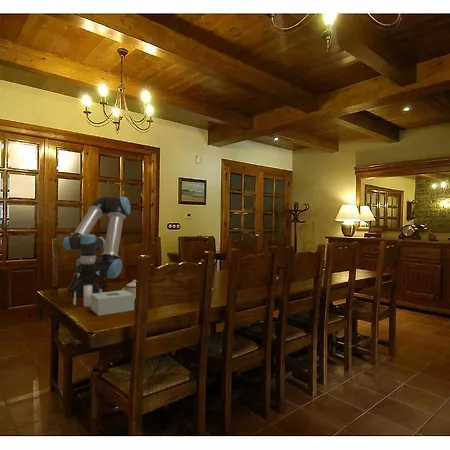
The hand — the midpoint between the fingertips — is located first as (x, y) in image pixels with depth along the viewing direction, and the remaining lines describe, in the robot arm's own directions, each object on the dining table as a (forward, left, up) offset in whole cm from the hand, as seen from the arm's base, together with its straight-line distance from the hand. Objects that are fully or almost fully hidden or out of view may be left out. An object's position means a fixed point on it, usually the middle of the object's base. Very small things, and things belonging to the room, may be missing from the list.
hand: (87, 302), depth 184 cm
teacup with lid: (+1, +24, -2) cm, 24 cm away
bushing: (0, 0, -2) cm, 2 cm away
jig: (+15, +9, -2) cm, 17 cm away
